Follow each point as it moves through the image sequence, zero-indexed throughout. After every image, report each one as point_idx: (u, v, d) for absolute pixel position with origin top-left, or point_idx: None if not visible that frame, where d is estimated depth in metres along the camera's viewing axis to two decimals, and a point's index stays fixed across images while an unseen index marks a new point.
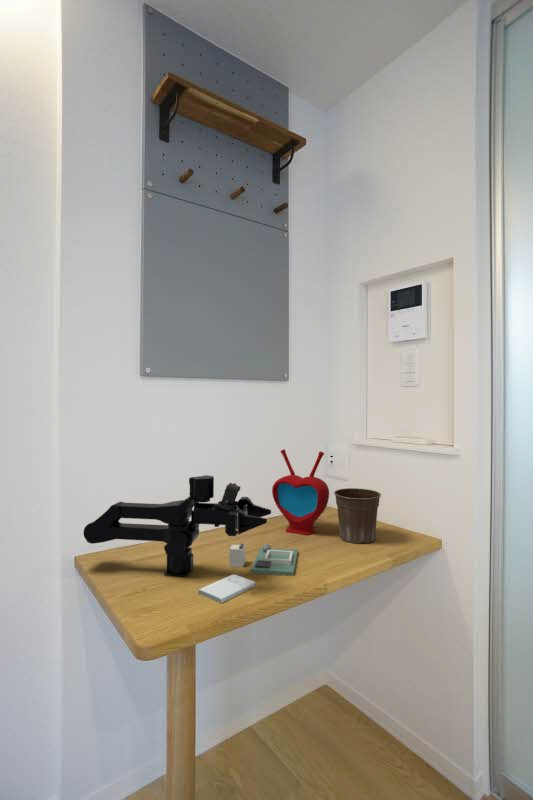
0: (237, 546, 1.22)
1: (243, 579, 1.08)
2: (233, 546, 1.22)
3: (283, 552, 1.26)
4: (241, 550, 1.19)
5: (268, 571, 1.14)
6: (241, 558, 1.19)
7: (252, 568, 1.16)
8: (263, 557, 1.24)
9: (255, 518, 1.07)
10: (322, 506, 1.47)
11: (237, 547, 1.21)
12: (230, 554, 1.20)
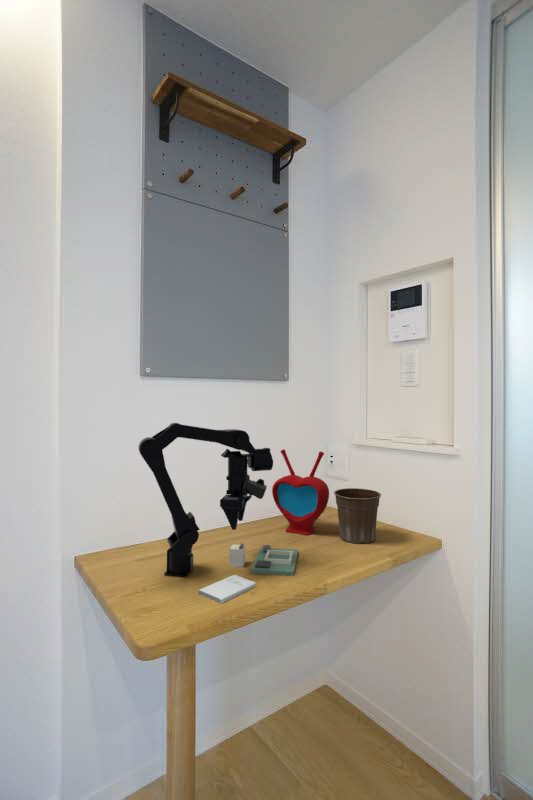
0: (237, 546, 1.22)
1: (243, 580, 1.08)
2: (233, 546, 1.22)
3: (283, 552, 1.26)
4: (241, 550, 1.19)
5: (268, 571, 1.14)
6: (241, 558, 1.19)
7: (252, 568, 1.16)
8: (263, 557, 1.24)
9: (236, 520, 1.16)
10: (322, 506, 1.47)
11: (237, 547, 1.21)
12: (230, 554, 1.20)
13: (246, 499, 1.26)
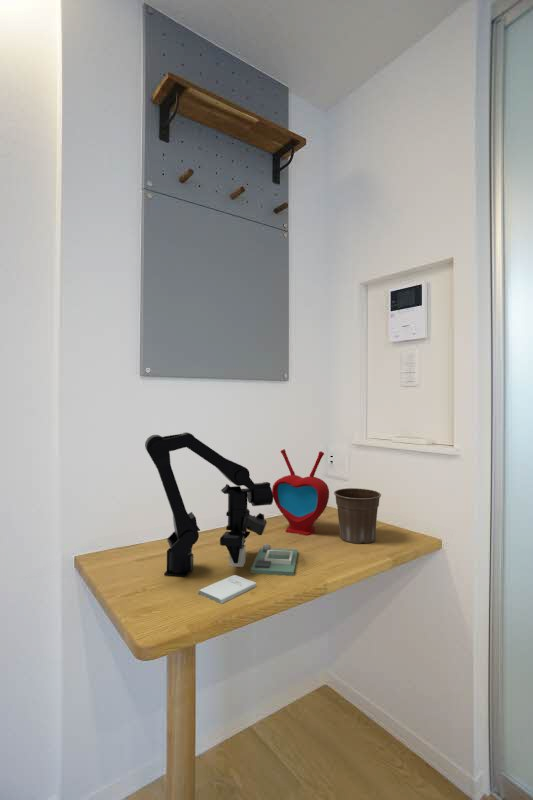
0: None
1: (243, 580, 1.08)
2: None
3: (283, 552, 1.26)
4: (241, 550, 1.19)
5: (268, 571, 1.14)
6: (241, 558, 1.19)
7: (252, 568, 1.16)
8: (263, 557, 1.24)
9: (238, 554, 1.18)
10: (322, 506, 1.47)
11: None
12: None
13: (244, 536, 1.24)
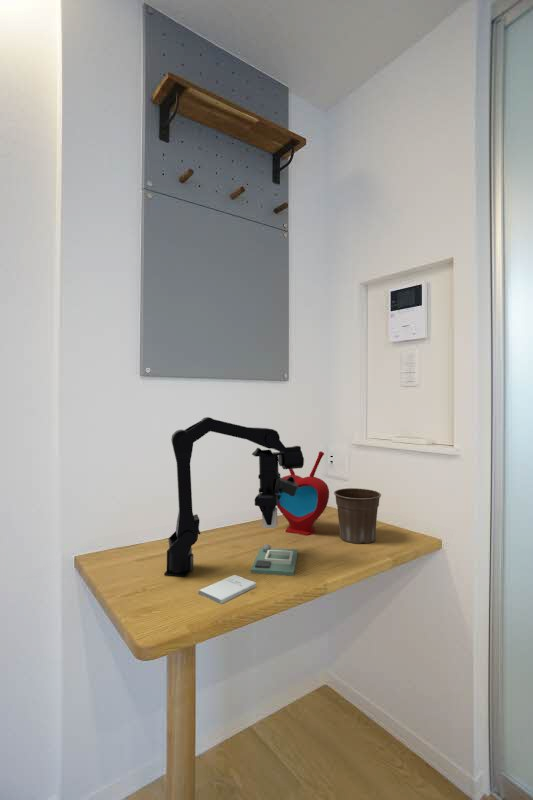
0: None
1: (243, 580, 1.08)
2: None
3: (283, 552, 1.26)
4: (274, 511, 1.21)
5: (268, 571, 1.14)
6: (274, 519, 1.21)
7: (252, 568, 1.16)
8: (263, 557, 1.24)
9: (271, 515, 1.20)
10: (322, 506, 1.47)
11: None
12: (263, 516, 1.21)
13: None
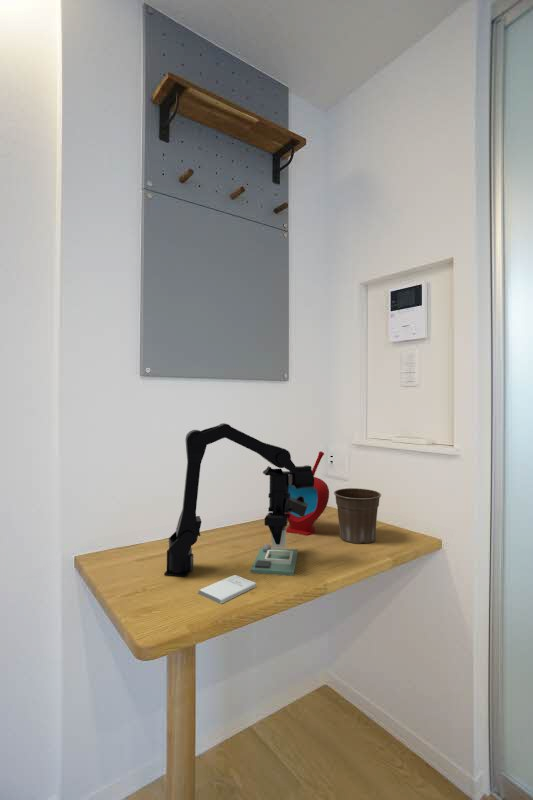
0: None
1: (244, 580, 1.08)
2: None
3: (283, 552, 1.26)
4: (283, 531, 1.21)
5: (268, 571, 1.14)
6: (283, 539, 1.21)
7: (252, 568, 1.16)
8: (263, 557, 1.24)
9: (280, 535, 1.20)
10: (322, 506, 1.47)
11: None
12: None
13: None
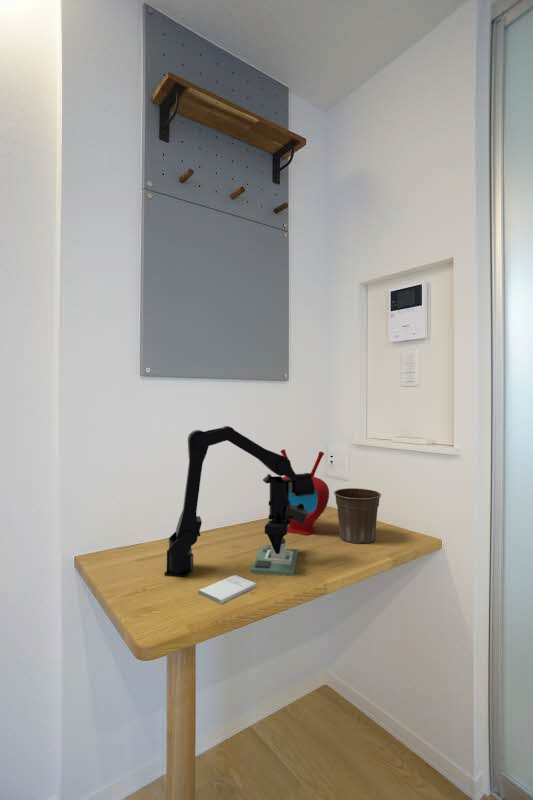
0: None
1: (244, 580, 1.08)
2: None
3: None
4: (283, 545, 1.21)
5: (268, 571, 1.14)
6: (283, 553, 1.21)
7: (252, 568, 1.16)
8: (263, 557, 1.24)
9: (280, 544, 1.18)
10: (322, 506, 1.47)
11: None
12: (272, 549, 1.21)
13: None
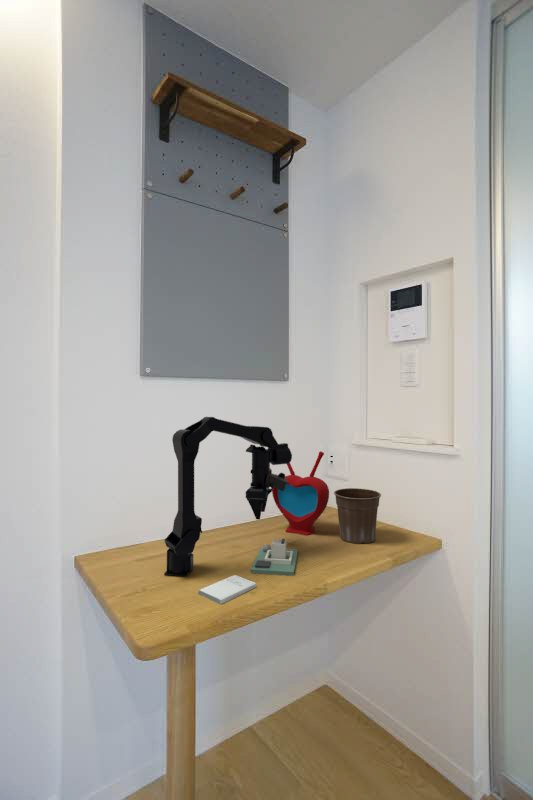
0: (278, 541, 1.23)
1: (244, 580, 1.08)
2: (274, 541, 1.23)
3: None
4: (283, 545, 1.21)
5: (268, 571, 1.14)
6: (283, 553, 1.21)
7: (252, 568, 1.16)
8: (263, 557, 1.24)
9: (260, 510, 1.25)
10: (322, 506, 1.47)
11: (279, 542, 1.23)
12: (272, 549, 1.21)
13: (268, 492, 1.35)
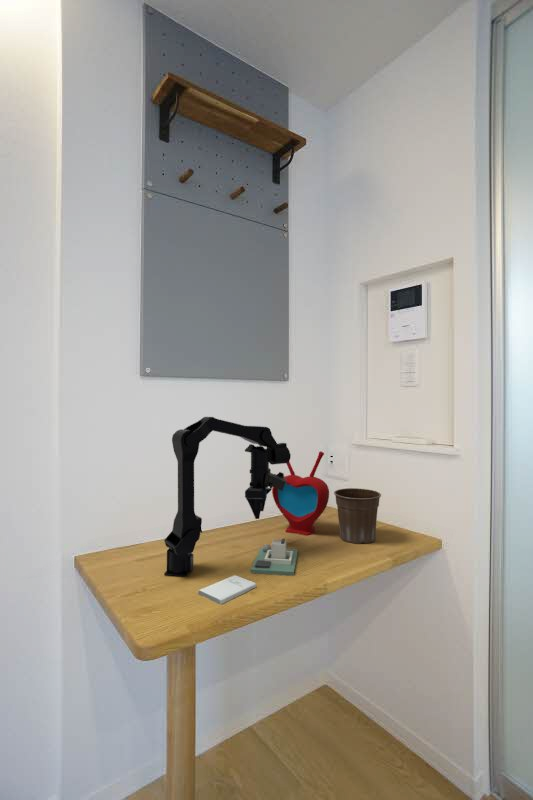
0: (278, 541, 1.23)
1: (244, 580, 1.08)
2: (274, 541, 1.23)
3: None
4: (283, 545, 1.21)
5: (268, 571, 1.14)
6: (283, 553, 1.21)
7: (252, 568, 1.16)
8: (263, 557, 1.24)
9: (259, 510, 1.25)
10: (322, 506, 1.47)
11: (279, 542, 1.23)
12: (272, 549, 1.21)
13: (267, 491, 1.36)
